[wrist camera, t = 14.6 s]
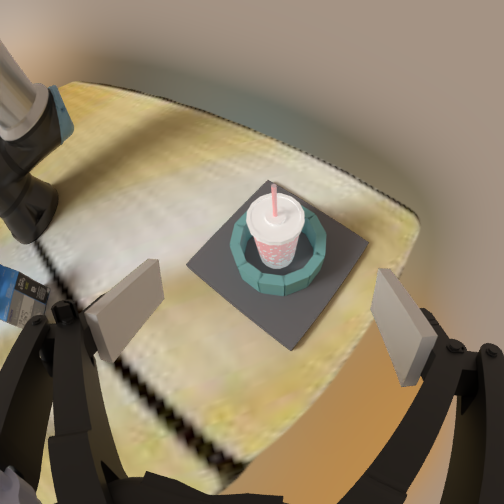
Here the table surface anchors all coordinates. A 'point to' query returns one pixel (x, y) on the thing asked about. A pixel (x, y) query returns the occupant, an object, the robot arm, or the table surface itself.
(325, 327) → the table surface
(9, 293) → the label tape box
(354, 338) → the table surface
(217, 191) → the table surface
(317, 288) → the cup holder
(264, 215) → the beverage cup
